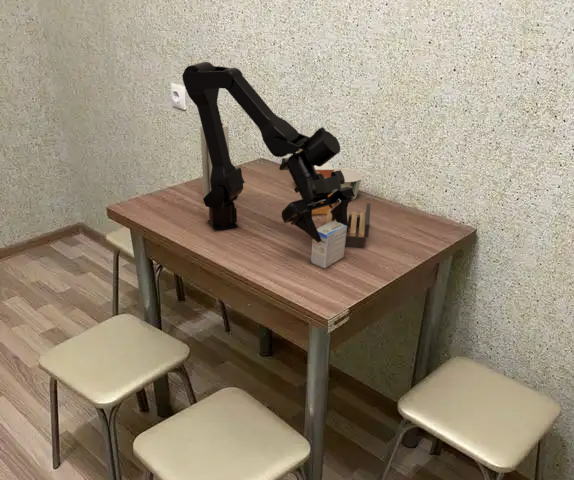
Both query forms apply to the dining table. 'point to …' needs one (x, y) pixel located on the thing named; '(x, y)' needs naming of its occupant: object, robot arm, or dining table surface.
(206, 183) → the paper towel roll
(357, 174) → the food container
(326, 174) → the small box
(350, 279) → the dining table surface
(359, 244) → the rack
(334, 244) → the medicine box
